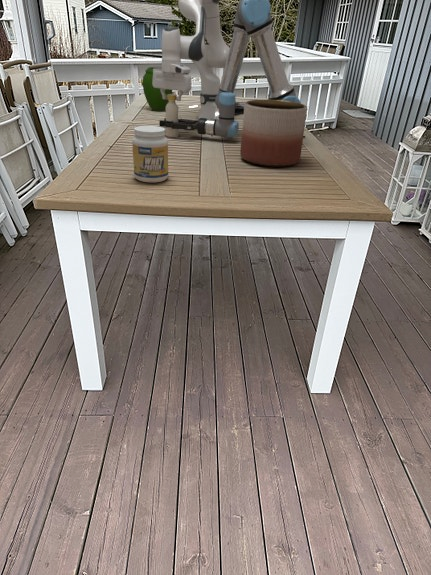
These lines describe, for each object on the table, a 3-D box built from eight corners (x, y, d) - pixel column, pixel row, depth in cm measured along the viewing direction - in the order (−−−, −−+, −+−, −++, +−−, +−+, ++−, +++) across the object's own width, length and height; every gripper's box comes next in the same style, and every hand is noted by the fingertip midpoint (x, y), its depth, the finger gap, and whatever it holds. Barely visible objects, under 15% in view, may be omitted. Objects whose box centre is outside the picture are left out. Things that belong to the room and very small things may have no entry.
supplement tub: (139, 184, 140) (136, 133, 131) (130, 174, 149) (127, 125, 140) (173, 181, 144) (172, 131, 135) (162, 172, 153) (161, 124, 144)
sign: (232, 108, 270) (231, 101, 295) (232, 112, 272) (230, 105, 297) (261, 109, 270) (257, 102, 296) (260, 114, 272) (257, 107, 297)
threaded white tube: (163, 135, 205) (162, 96, 195) (170, 133, 210) (170, 95, 200) (174, 137, 203) (173, 97, 193) (180, 135, 208) (180, 96, 198)
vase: (143, 107, 275) (142, 66, 262) (173, 108, 277) (172, 67, 264) (142, 112, 259) (140, 68, 246) (173, 113, 261) (173, 70, 248)
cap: (174, 98, 200) (174, 94, 199) (178, 100, 197) (178, 95, 195) (165, 98, 198) (165, 94, 197) (169, 100, 195) (169, 95, 194)
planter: (308, 168, 166) (317, 110, 154) (247, 168, 162) (252, 108, 150) (288, 152, 187) (295, 100, 175) (234, 152, 183) (238, 98, 171)
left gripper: (149, 66, 192) (150, 98, 199) (186, 69, 184) (186, 103, 191) (156, 65, 196) (157, 97, 204) (193, 69, 189) (192, 101, 196)
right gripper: (200, 138, 194) (155, 133, 198) (211, 130, 210) (169, 126, 214) (201, 121, 190) (154, 117, 194) (212, 115, 206) (168, 111, 210)
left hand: (171, 100), depth 197 cm, fingers open, 7 cm apart
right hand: (162, 122), depth 204 cm, fingers closed on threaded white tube, 6 cm apart
